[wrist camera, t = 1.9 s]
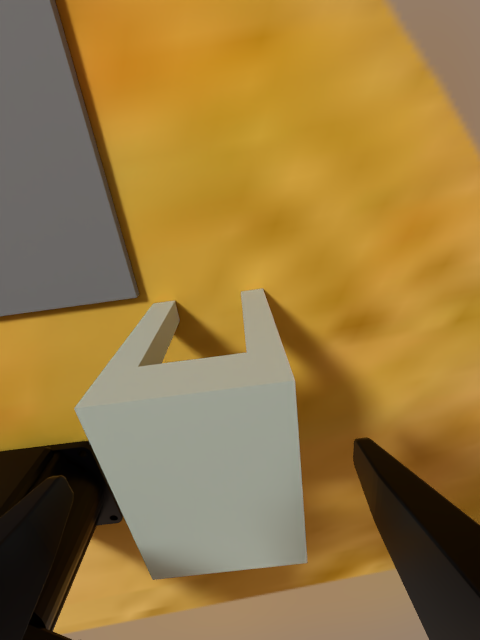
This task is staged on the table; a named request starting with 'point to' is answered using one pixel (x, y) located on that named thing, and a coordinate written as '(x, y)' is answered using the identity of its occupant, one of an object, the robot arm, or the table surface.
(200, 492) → the notched white block
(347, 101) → the table surface
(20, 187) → the mat
